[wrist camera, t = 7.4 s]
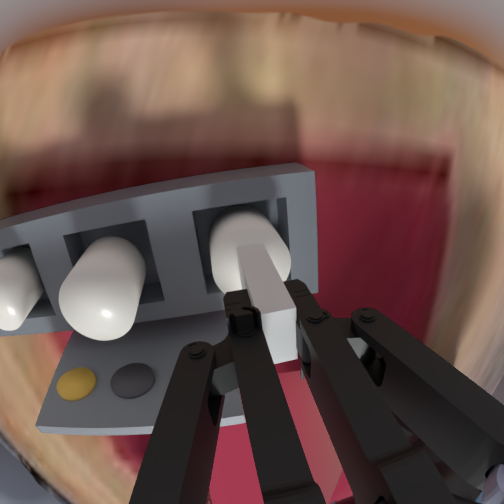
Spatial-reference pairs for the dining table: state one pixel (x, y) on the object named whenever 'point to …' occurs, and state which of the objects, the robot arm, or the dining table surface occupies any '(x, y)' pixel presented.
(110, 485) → the dining table surface
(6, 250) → the button board
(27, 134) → the dining table surface
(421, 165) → the dining table surface
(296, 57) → the dining table surface
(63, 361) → the card
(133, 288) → the button middle
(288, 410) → the robot arm
